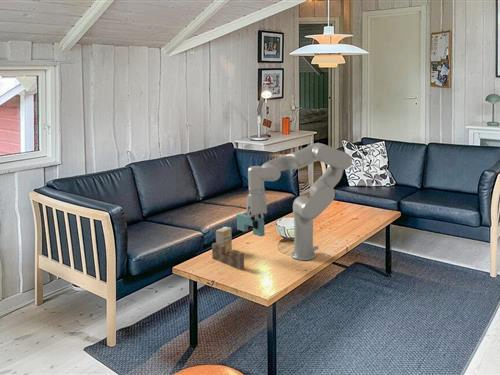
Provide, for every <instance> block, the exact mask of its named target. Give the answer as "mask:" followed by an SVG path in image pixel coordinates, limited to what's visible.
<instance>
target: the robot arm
mask: <svg viewBox="0 0 500 375" xmlns="http://www.w3.org/2000/svg"><path fill="white" fill-rule="evenodd" d="M315 162H320V163H322V164H325V165H327V166H326V167H327V168H326V170H325V171H324V173H323V174H321V176H320V177H319V178H318V179H317V180H316V181H314V182H313V184H312V185H311V186H310V188H309V189H308V190H309V195H310V197H308V196H305V195H300V196H297V197H296V198H295V199H294V200H293V203H292V214H293V226H294V227H293V230H294V231H293V234H294V236H293V243H294V244H293V249H294V250H293V251H292V252H291V255H290V256H291V258H292V259H294V260H297V261H310V260H313V259H315V258H316V256H317V254H316V253H315V251H316V250H319V246H318V245H314V219H316V218H317V217H319V216H320V215H321V214H322V213H323V212H325V210H326V209H327V208H328V207H329V206H330V205H331V204H332V203H333V201H334V199H335V195H336V193H335V192H336V191H335V189H334V188H335V187H336V185H338V183H339V182H340V180H341V179H342V175H343V171H344V170H348V169H349V168H350V167H351V166H352V163H353V158H352V156H351V154H349V153H347V152H345V151H342V150H339V149H337V148H335V147H331V146H330V145H327V144H324V143H320V142H316V143H312V144H310V145H307V146H306V147H303V148H300V149H299V150H297V151H294V152H291V153H288V154H285V155H284V154H283V155H281V156H278V157H275V158H273V159H271V160H267V161H266V162H264V163H263V164H262V165H261V166H260V165H252V166H250V167H248V169H247V181H248V194H247V196H246V204H245V205H246V208H245V209H246V210H245V211H246V215H247V217H248V218H250V219H251V220H252V222H253V226H252V229H253V228H255V229H258V221H257V218H259V219H263V220H264V218H265V215H266V214H267V213H268V210H267V208H268V207H267V206H268V204H267V198H266V193H265V190H266V188H265V182H276V181H277V180H279V179H280V178H281V175H282V173H281V172H283V171H287V170H299V169H302V168H304V167H307V166H309V165H312V164H313V163H315Z"/></svg>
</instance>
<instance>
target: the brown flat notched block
mask: <svg viewBox="0 0 500 375" xmlns="http://www.w3.org/2000/svg"><path fill="white" fill-rule="evenodd" d="M211 250H212V251H211V254H212V255H211V256H212V259H213V260H216V261H218V262H220V263H223V264H225V265H228V266H230V267H232V268H235V269H237V270H240V271H241V270H244V269H245V252H242V251H241V250H237V249H234V248H232V250H230V252H229V254H228V253H226V254H225V246H224V245H221V244H218V243H216V242H214V243H212V244H211Z"/></svg>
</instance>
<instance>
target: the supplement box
mask: <svg viewBox="0 0 500 375" xmlns="http://www.w3.org/2000/svg"><path fill="white" fill-rule="evenodd" d="M232 234H233V233H232V227H229V226H223V227H222V228H219V229H216V230H215V241H216V242H215V243H218V244H221V245H224V246H225V254H228V253H230V250H233V244H232V241H233V240H232V238H233V236H232Z"/></svg>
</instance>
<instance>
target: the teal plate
mask: <svg viewBox="0 0 500 375" xmlns="http://www.w3.org/2000/svg"><path fill="white" fill-rule="evenodd" d="M257 221H258V229H255V228H253V222H252V220H251V219H250V218H248V217H247V214H244V213H238V214H236V229H237V230H238V231H242V232H248V231H249V226H250V227H252V235H254V236H258V237H263V236H266V235H265V233H266V232H265V219H264V218H263V219H259V218H258V217H257Z"/></svg>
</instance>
